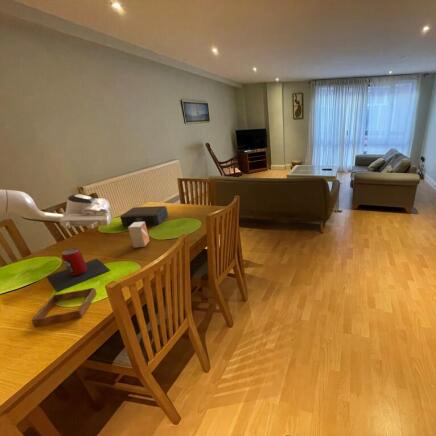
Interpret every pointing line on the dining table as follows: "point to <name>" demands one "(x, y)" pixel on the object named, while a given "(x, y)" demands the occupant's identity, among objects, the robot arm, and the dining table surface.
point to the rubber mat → (66, 280)
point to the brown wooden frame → (42, 320)
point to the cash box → (145, 215)
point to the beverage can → (74, 262)
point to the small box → (139, 234)
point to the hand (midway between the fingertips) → (79, 227)
